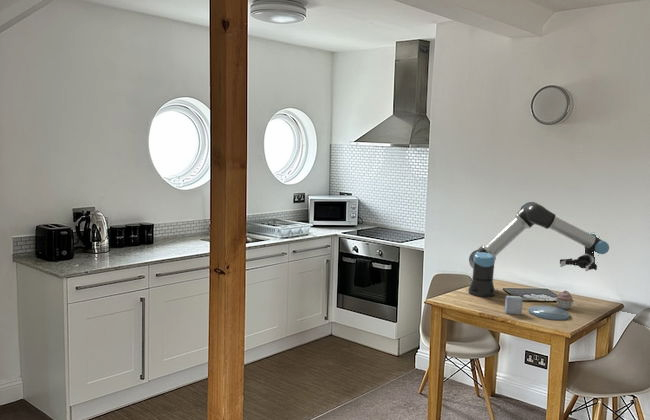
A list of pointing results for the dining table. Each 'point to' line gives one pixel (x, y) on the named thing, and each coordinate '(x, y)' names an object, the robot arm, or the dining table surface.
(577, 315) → the dining table surface
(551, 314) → the dish
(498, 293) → the dining table surface
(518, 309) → the medicine box
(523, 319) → the dining table surface
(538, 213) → the robot arm
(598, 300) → the dining table surface
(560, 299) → the cupcake
